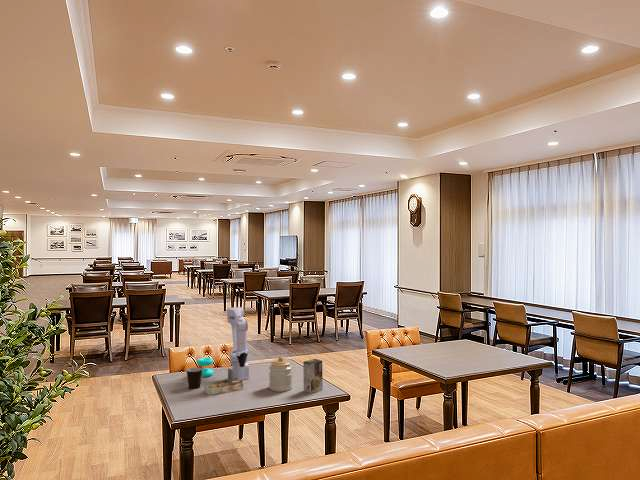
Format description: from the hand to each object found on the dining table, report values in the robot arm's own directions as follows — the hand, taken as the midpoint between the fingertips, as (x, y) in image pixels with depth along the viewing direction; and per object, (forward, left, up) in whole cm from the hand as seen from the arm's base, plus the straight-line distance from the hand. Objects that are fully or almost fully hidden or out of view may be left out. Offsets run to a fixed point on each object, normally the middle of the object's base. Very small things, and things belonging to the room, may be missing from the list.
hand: (242, 366), depth 262 cm
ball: (+17, +2, -8) cm, 19 cm away
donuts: (+11, -31, -11) cm, 34 cm away
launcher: (+9, +2, -11) cm, 14 cm away
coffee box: (-28, +30, -11) cm, 43 cm away
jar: (-15, +17, -11) cm, 26 cm away
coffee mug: (+23, -13, -11) cm, 28 cm away
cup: (+18, +2, -11) cm, 21 cm away
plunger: (+9, +2, -7) cm, 12 cm away
